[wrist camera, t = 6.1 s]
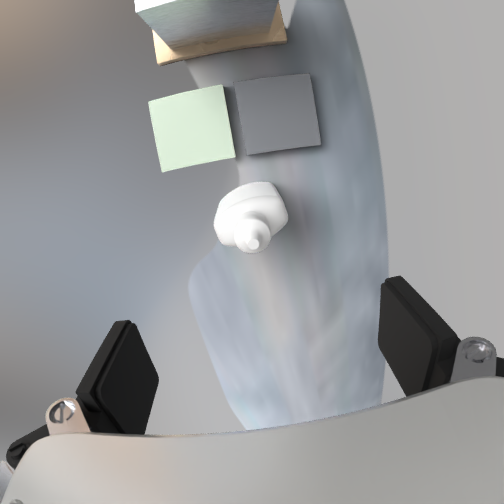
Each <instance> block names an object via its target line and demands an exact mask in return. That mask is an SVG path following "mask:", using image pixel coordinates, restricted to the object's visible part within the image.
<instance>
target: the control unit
mask: <svg viewBox="0 0 504 504" xmlns="http://www.w3.org/2000/svg"><path fill="white" fill-rule="evenodd" d="M278 1H279V0H135V7H136V12H137V14H139V16H140V17H141V18H142V19H143V20H144V21H145V22H146V23H147V24H148V25H149V26H150V27H151V28H152V30H153V37H154V44H155V51H156V58H157V63H158V64H159V65H160V66H163V65H167V64H170V63H174V62H178V61H182V60H187V59H191V58H195V57H200V56H205V55H210V54H215V53H220V52H226V51H231V50H238V49H244V48H251V47H259V46H268V45H277V44H286V42H287V37H286V32H285V28H284V23H283V19H282V14H281V10H280V6H279V2H278Z"/></svg>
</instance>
